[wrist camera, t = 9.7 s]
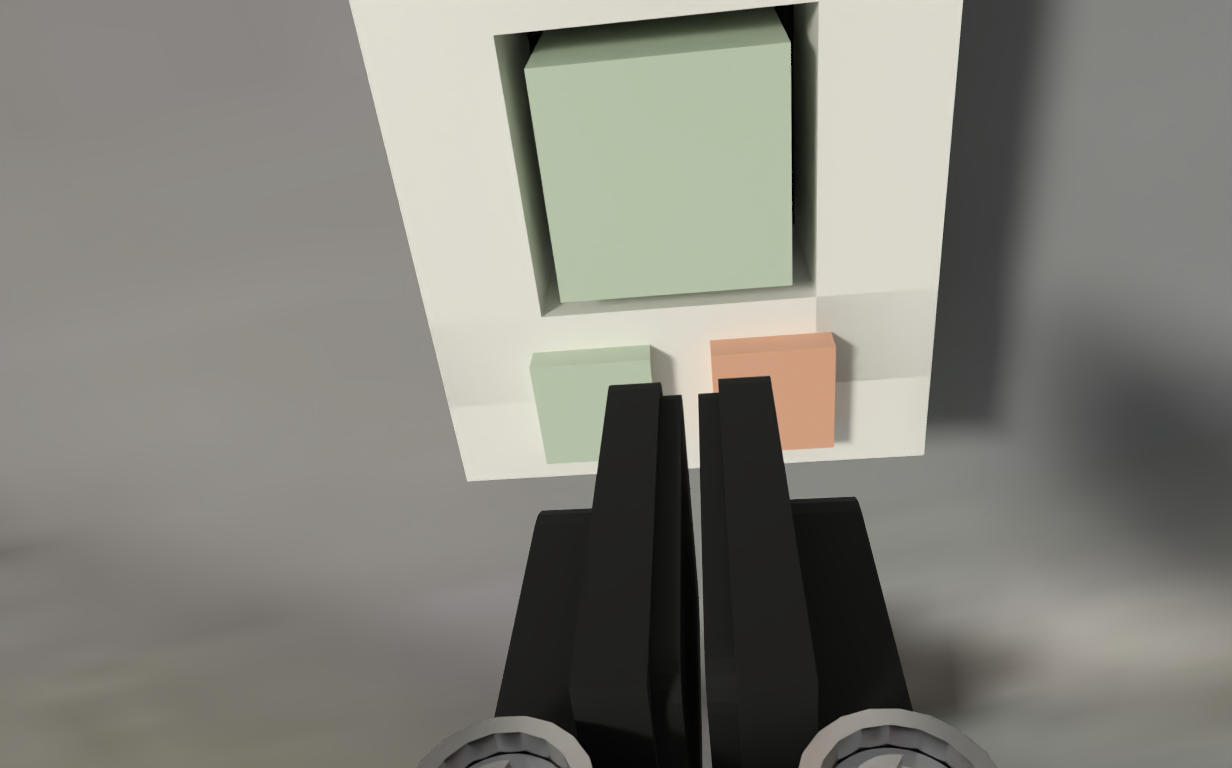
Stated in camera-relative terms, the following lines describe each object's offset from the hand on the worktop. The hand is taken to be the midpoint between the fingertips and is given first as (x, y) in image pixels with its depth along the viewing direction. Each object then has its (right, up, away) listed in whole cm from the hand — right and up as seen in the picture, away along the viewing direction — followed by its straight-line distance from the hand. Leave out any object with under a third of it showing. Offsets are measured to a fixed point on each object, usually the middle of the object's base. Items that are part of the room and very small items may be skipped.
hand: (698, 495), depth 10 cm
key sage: (0, +7, +9) cm, 11 cm away
